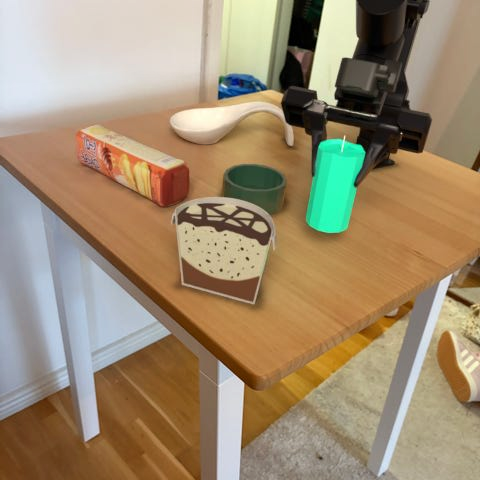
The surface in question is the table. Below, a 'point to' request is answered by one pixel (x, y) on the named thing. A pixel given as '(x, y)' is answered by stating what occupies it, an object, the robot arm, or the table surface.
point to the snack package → (134, 164)
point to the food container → (223, 246)
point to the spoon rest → (221, 121)
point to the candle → (334, 185)
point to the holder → (255, 186)
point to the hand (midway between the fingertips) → (333, 180)
